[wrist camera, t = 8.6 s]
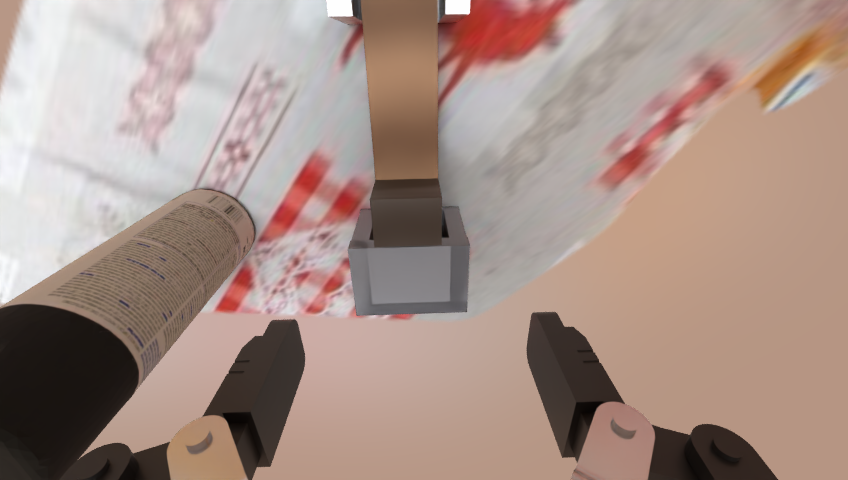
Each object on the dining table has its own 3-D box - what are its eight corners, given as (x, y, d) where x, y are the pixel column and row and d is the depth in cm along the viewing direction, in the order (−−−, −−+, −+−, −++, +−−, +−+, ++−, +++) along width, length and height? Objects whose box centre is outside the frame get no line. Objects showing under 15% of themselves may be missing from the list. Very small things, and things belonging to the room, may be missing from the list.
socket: (458, 206, 30) (469, 245, 24) (456, 264, 32) (466, 311, 27) (360, 209, 30) (347, 249, 24) (366, 266, 32) (356, 315, 26)
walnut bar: (364, -50, 21) (342, -95, 15) (433, -51, 21) (442, -97, 15) (387, 251, 30) (380, 307, 24) (435, 249, 30) (441, 305, 24)
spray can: (159, 188, 29) (-257, 416, 11) (245, 183, 29) (-28, 402, 11) (189, 261, 32) (-97, 532, 14) (267, 257, 32) (81, 521, 14)
